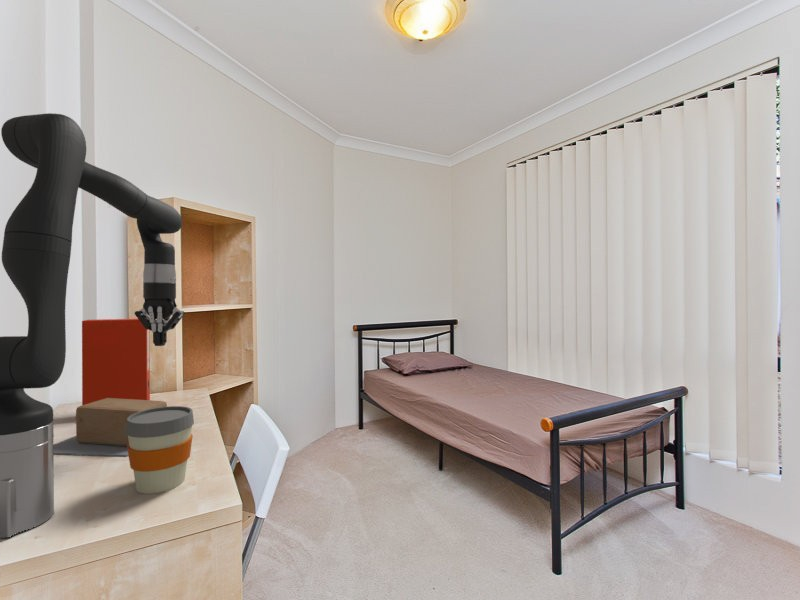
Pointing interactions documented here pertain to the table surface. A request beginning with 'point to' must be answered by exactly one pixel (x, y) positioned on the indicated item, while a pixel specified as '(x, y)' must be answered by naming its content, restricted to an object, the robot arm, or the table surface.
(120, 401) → the wooden block
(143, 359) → the file binder
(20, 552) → the table surface
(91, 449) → the mat
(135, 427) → the reusable coffee cup
